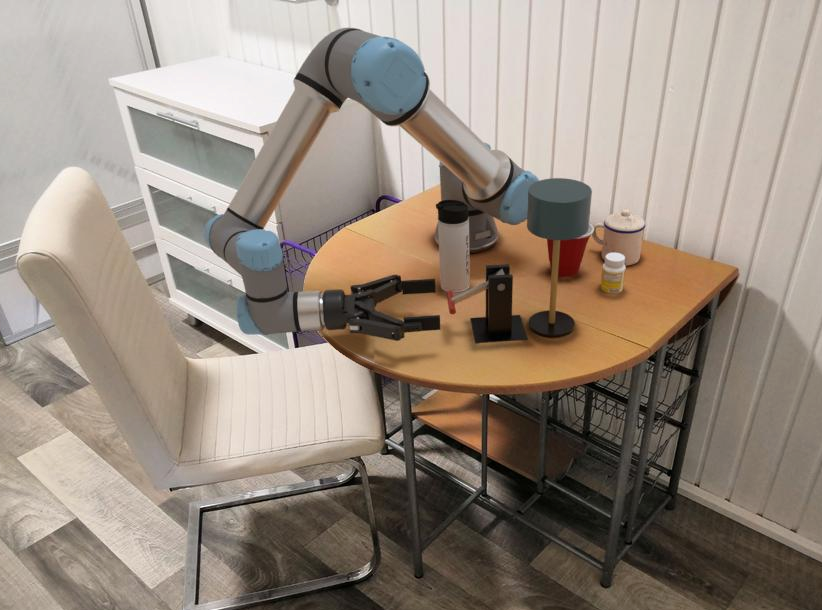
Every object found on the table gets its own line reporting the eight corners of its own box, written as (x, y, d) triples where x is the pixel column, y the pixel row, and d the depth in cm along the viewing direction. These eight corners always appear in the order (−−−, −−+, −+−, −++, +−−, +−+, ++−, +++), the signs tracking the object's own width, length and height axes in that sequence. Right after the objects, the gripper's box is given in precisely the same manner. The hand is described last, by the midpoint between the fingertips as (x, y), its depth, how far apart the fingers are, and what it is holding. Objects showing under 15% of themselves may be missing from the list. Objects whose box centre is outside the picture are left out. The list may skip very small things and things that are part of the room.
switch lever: (452, 317, 137) (446, 308, 136) (449, 298, 143) (443, 289, 142) (511, 290, 135) (505, 280, 134) (505, 272, 141) (500, 262, 139)
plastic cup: (598, 282, 161) (603, 231, 154) (551, 289, 158) (554, 238, 151) (577, 259, 169) (582, 211, 162) (533, 266, 167) (535, 217, 160)
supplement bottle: (609, 284, 160) (613, 249, 155) (627, 292, 157) (631, 256, 152) (595, 292, 157) (599, 256, 152) (613, 300, 154) (617, 264, 149)
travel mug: (434, 286, 160) (431, 199, 148) (462, 280, 162) (461, 194, 150) (445, 300, 155) (442, 211, 144) (474, 293, 157) (473, 205, 146)
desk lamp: (519, 317, 149) (523, 179, 133) (572, 313, 150) (583, 176, 133) (528, 347, 140) (534, 204, 124) (585, 343, 141) (598, 200, 124)
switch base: (475, 348, 140) (474, 284, 132) (470, 322, 148) (469, 261, 140) (527, 344, 141) (529, 281, 133) (519, 319, 148) (521, 258, 140)
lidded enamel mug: (646, 254, 171) (652, 207, 164) (632, 270, 164) (638, 222, 158) (597, 243, 176) (602, 196, 169) (582, 258, 170) (586, 211, 163)
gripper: (330, 294, 150) (434, 288, 151) (322, 365, 130) (443, 357, 131) (325, 261, 146) (432, 255, 147) (317, 329, 125) (441, 321, 127)
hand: (437, 303), depth 139 cm, fingers open, 13 cm apart
